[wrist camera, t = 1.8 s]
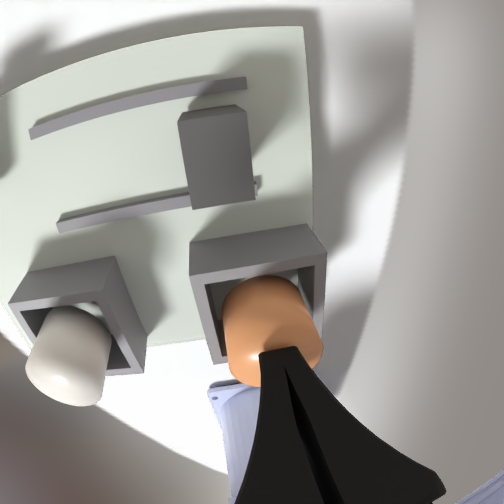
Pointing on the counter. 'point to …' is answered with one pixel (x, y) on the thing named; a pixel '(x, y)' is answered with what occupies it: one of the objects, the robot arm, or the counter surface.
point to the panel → (155, 190)
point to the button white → (70, 356)
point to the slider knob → (217, 156)
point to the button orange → (266, 325)
